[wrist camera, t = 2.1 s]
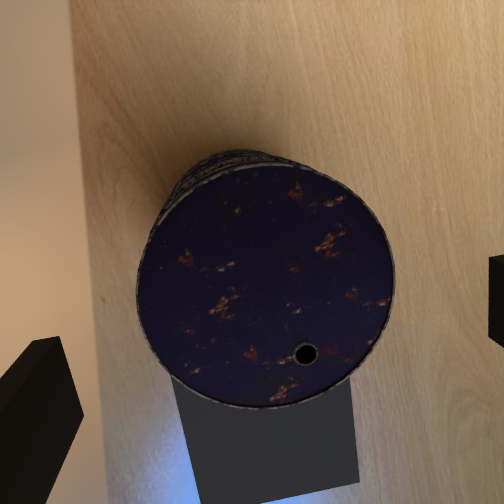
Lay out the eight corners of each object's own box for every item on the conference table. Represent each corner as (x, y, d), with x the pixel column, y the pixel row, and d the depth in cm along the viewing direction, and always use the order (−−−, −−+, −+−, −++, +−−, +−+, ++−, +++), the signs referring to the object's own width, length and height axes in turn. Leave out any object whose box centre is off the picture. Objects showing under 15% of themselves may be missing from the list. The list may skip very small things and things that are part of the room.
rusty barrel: (139, 195, 28) (72, 254, 14) (263, 119, 28) (323, 101, 14) (216, 308, 31) (226, 454, 17) (329, 241, 31) (438, 332, 17)
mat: (160, 329, 31) (159, 330, 31) (341, 295, 32) (341, 296, 32) (203, 514, 36) (203, 515, 36) (359, 481, 37) (359, 482, 37)
